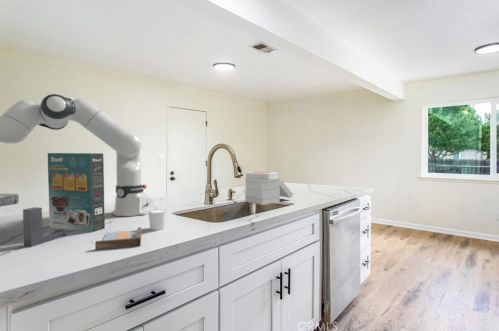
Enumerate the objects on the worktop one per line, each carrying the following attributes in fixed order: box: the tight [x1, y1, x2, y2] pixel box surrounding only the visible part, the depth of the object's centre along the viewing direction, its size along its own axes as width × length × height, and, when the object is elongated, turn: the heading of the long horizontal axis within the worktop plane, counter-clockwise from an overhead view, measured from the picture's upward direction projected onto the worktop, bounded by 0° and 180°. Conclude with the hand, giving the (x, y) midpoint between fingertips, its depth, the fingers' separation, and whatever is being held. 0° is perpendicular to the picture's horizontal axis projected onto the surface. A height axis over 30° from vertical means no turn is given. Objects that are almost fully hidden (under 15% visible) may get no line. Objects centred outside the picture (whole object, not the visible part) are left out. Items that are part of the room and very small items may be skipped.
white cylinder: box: [148, 209, 167, 231], centre depth 119 cm, size 7×7×7 cm
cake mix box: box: [47, 152, 106, 233], centre depth 119 cm, size 22×6×30 cm, turn 72°
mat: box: [98, 229, 143, 251], centre depth 104 cm, size 19×12×1 cm, turn 19°
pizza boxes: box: [244, 171, 294, 206], centre depth 186 cm, size 19×30×18 cm, turn 132°
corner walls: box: [94, 227, 142, 251], centre depth 102 cm, size 15×13×2 cm
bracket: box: [22, 206, 66, 248], centre depth 102 cm, size 13×3×12 cm, turn 166°
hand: (2, 204), depth 100 cm, fingers open, 8 cm apart
